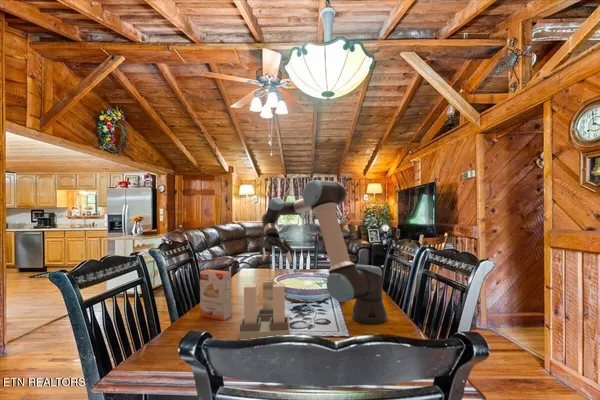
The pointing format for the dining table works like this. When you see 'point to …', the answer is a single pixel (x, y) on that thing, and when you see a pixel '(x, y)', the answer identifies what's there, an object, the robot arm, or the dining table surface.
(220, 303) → the cracker box
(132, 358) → the dining table surface
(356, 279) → the robot arm
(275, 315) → the stool seat
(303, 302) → the trivet
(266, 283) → the loose stool leg
